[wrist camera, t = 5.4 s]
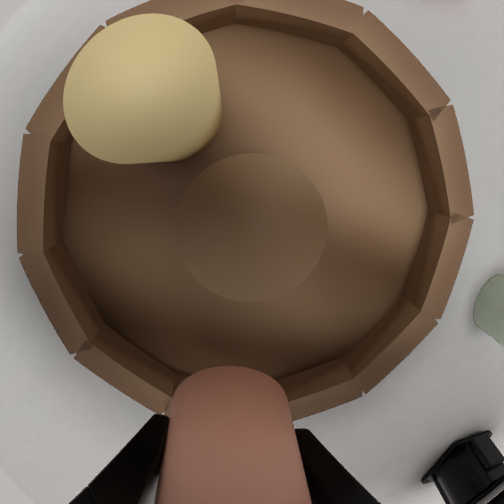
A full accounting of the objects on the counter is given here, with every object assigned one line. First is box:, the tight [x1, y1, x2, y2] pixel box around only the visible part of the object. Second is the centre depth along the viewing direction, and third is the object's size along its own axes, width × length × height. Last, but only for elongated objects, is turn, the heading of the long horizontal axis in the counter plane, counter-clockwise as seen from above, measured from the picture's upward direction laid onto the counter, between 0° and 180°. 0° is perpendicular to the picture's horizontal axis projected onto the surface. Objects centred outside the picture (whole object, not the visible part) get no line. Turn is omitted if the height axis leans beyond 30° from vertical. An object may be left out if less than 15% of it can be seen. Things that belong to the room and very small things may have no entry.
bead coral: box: [154, 366, 312, 504], centre depth 6 cm, size 4×4×5 cm
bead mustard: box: [63, 13, 223, 164], centre depth 8 cm, size 4×4×5 cm
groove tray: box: [17, 0, 474, 421], centre depth 11 cm, size 18×18×2 cm
